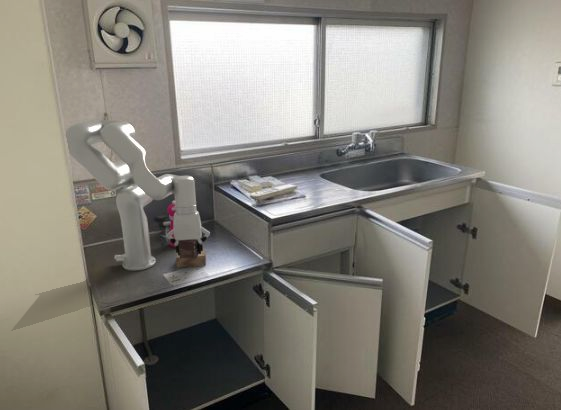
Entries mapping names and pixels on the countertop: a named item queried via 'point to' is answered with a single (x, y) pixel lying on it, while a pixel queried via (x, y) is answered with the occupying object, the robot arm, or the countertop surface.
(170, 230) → the pepper mill
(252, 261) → the countertop surface
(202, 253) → the light brown rectangular block
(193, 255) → the box
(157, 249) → the countertop surface
